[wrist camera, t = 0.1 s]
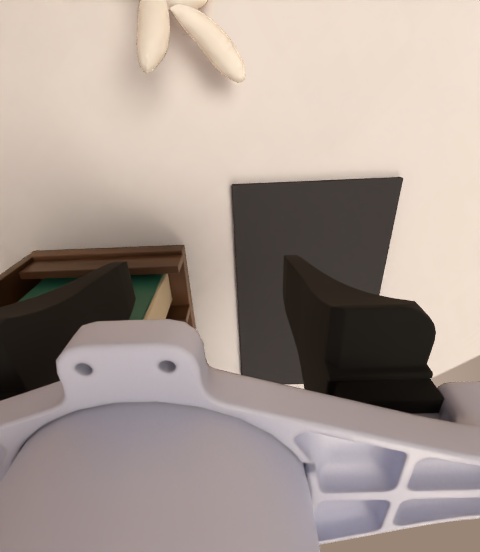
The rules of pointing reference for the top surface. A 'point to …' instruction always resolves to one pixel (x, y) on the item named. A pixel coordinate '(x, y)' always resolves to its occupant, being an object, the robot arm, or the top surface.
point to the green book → (147, 289)
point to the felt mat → (303, 255)
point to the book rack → (84, 261)
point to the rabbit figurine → (198, 25)
